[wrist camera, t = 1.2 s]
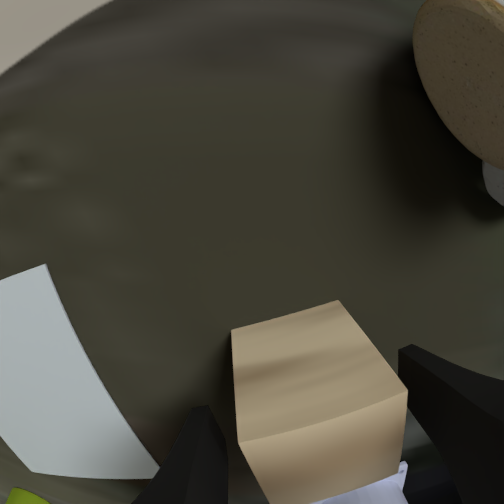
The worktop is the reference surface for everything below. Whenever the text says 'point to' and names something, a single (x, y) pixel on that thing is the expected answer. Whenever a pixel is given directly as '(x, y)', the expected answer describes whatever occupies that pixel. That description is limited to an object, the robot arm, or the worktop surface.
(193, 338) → the worktop surface
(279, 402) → the maple block
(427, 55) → the ceramic mug
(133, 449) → the blue-grey mat
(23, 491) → the soap dispenser
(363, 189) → the worktop surface
